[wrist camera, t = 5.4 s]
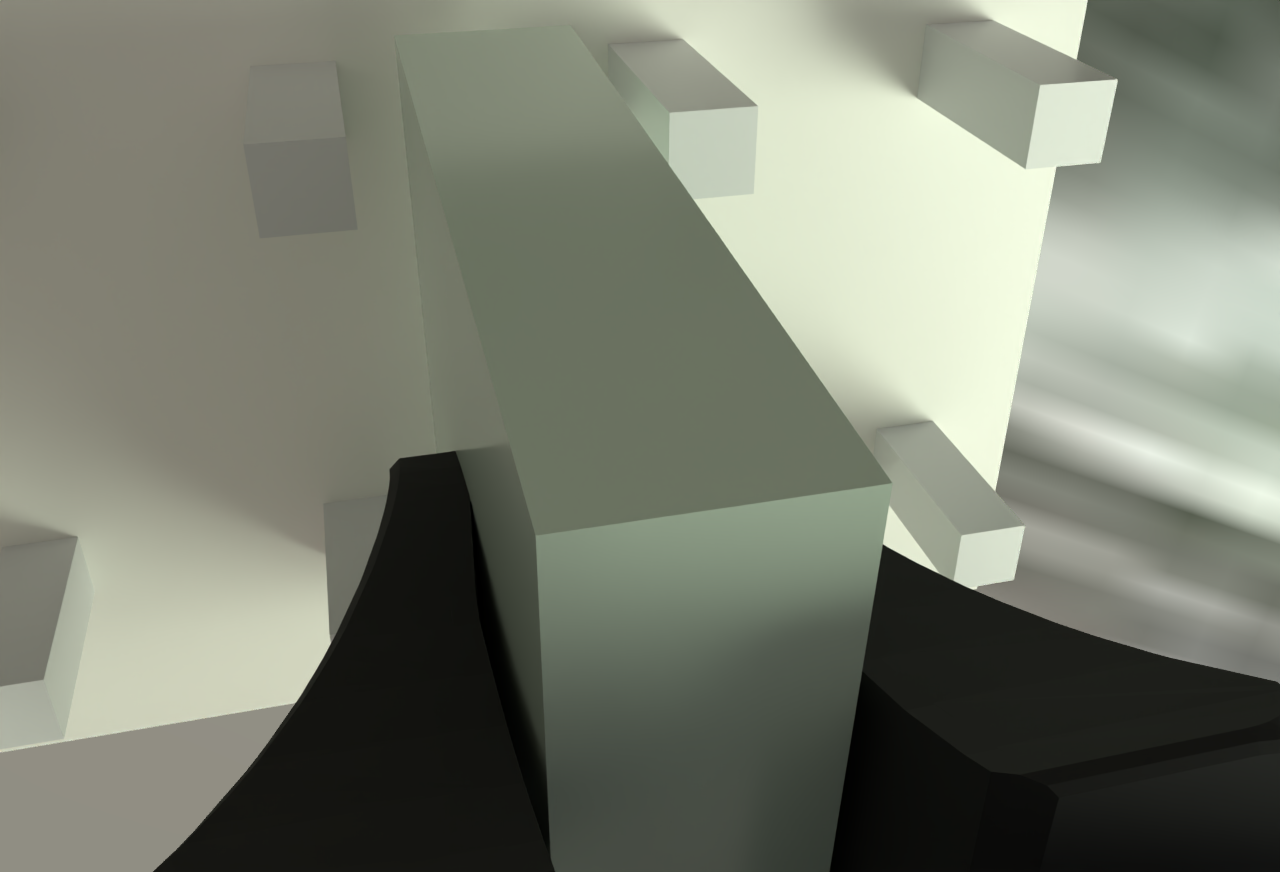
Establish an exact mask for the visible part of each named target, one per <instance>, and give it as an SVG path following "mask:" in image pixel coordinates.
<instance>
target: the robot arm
mask: <svg viewBox="0 0 1280 872" xmlns="http://www.w3.org/2000/svg"><path fill="white" fill-rule="evenodd" d="M389 471H390V481H389V489H388V495H387V500H386V505H385V509H384V513H383V517H382V520H381V524H380V527H379V531H378V534H377V537H376V540H375V542H374V545H373V548H372V551H371V554H370V556H369V559H368V562H367V565H366V568H365V570H364V573H363V576H362V578H361V581H360V583H359V585H358V588H357V590H356V592H355V594H354V596H353V598H352V601H351V603H350V605H349V607H348V609H347V611H346V614H345V616H344V618H343V620H342V622H341V624H340V627H339V629H338V631H337V633H336V635H335V637H334V639H333V641H332V642H331V644H330V646H329V648H328V650H327V652H326V654H325V655H324V657H323V659H322V661H321V662H320V664H319V666H318V668H317V669H316V671H315V673H314V674H313V676H312V678H311V679H310V681H309V683H308V684H307V686H306V688H305V689H304V691H303V692H302V694H301V696H300V697H299V699H298V700H297V702H296V703H295V705H294V706H293V708H292V709H291V711H290V712H289V713H288V715H287V716H286V718H285V719H284V721H283V722H282V724H281V725H280V727H279V728H278V729H277V731H276V732H275V734H274V735H273V736H272V738H271V739H270V741H269V742H268V744H267V745H266V746H265V748H264V749H263V750H262V752H261V753H260V754H259V755H258V757H257V758H256V759H255V761H254V762H253V763H252V765H251V766H250V767H249V768H248V770H247V771H246V772H245V773H244V775H243V776H242V777H241V778H240V779H239V780H238V782H237V783H236V784H235V785H234V786H233V787H232V788H231V790H230V791H229V792H228V793H227V794H226V795H225V796H224V797H223V799H222V800H221V801H220V802H219V803H218V804H217V806H216V807H215V808H214V809H213V810H212V811H211V813H210V814H209V815H208V816H207V817H206V818H205V819H204V821H203V822H202V823H201V824H200V825H199V826H198V827H197V829H196V830H195V831H194V832H193V833H192V834H191V835H190V836H189V837H188V838H187V839H186V840H185V841H184V843H182V844H181V845H180V847H179V848H178V849H177V850H176V851H175V852H173V853H172V854H171V855H170V856H169V857H168V858H167V859H166V860H165V861H164V862H163V863H162V864H161V865H160V866H159V867H157V869H155V870H154V871H153V872H555V869H554V867H553V864H552V861H551V858H550V856H549V853H548V850H547V848H546V845H545V842H544V840H543V837H542V834H541V831H540V828H539V825H538V822H537V819H536V816H535V813H534V810H533V807H532V804H531V801H530V798H529V795H528V792H527V789H526V786H525V783H524V780H523V777H522V773H521V770H520V767H519V763H518V760H517V757H516V753H515V750H514V747H513V743H512V740H511V737H510V733H509V730H508V726H507V723H506V719H505V716H504V712H503V708H502V705H501V701H500V697H499V694H498V690H497V686H496V683H495V679H494V675H493V671H492V667H491V664H490V660H489V656H488V652H487V648H486V644H485V640H484V636H483V632H482V628H481V619H480V607H479V596H478V585H477V574H476V563H475V551H474V540H473V529H472V518H471V506H470V496H469V492H468V488H467V485H466V482H465V478H464V475H463V472H462V468H461V465H460V462H459V460H458V457H457V454H456V451H451V452H443V453H436V454H428V455H420V456H413V457H405V458H399V459H398V460H397V461H396V463H395V464H394V465H393V466H392V467H391V468H390V469H389ZM829 872H1280V684H1279V683H1278V682H1276V681H1271V680H1267V679H1262V678H1258V677H1253V676H1249V675H1244V674H1240V673H1235V672H1231V671H1227V670H1222V669H1218V668H1213V667H1209V666H1204V665H1200V664H1195V663H1191V662H1186V661H1182V660H1177V659H1173V658H1169V657H1165V656H1161V655H1158V654H1154V653H1151V652H1147V651H1144V650H1140V649H1137V648H1134V647H1130V646H1127V645H1123V644H1120V643H1117V642H1113V641H1110V640H1106V639H1103V638H1100V637H1096V636H1093V635H1090V634H1087V633H1084V632H1081V631H1078V630H1075V629H1072V628H1069V627H1066V626H1063V625H1060V624H1058V623H1055V622H1052V621H1049V620H1047V619H1044V618H1042V617H1039V616H1036V615H1034V614H1031V613H1029V612H1026V611H1024V610H1021V609H1018V608H1016V607H1013V606H1011V605H1008V604H1005V603H1003V602H1000V601H998V600H995V599H993V598H991V597H988V596H986V595H984V594H982V593H979V592H977V591H975V590H972V589H970V588H968V587H966V586H963V585H961V584H959V583H957V582H955V581H953V580H951V579H949V578H947V577H945V576H943V575H941V574H939V573H937V572H935V571H933V570H931V569H929V568H927V567H924V566H922V565H920V564H918V563H916V562H914V561H912V560H911V559H909V558H907V557H905V556H903V555H901V554H899V553H898V552H896V551H894V550H892V549H890V548H889V547H887V546H885V545H883V546H882V552H881V558H880V564H879V570H878V577H877V583H876V589H875V595H874V601H873V607H872V613H871V620H870V626H869V632H868V638H867V644H866V650H865V656H864V663H863V669H862V675H861V681H860V687H859V693H858V699H857V706H856V712H855V718H854V724H853V730H852V736H851V742H850V749H849V755H848V761H847V767H846V773H845V779H844V785H843V791H842V798H841V804H840V810H839V816H838V822H837V828H836V834H835V841H834V847H833V853H832V859H831V865H830V871H829Z"/></svg>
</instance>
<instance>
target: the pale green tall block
mask: <svg viewBox="0 0 1280 872" xmlns="http://www.w3.org/2000/svg"><path fill="white" fill-rule="evenodd" d="M394 39H395V49H396V59H397V69H398V79H399V88H400V98H401V108H402V118H403V128H404V138H405V148H406V157H407V167H408V177H409V187H410V197H411V207H412V216H413V226H414V236H415V246H416V256H417V266H418V276H419V285H420V295H421V305H422V315H423V325H424V335H425V344H426V354H427V364H428V374H429V384H430V394H431V403H432V413H433V423H434V433H435V443H436V453H443V452H451V451H456V454H457V457H458V460H459V462H460V465H461V468H462V472H463V475H464V478H465V482H466V485H467V488H468V492H469V496H470V506H471V518H472V529H473V540H474V551H475V563H476V574H477V585H478V596H479V607H480V619H481V628H482V632H483V636H484V640H485V644H486V648H487V652H488V656H489V660H490V664H491V667H492V671H493V675H494V679H495V683H496V686H497V690H498V694H499V697H500V701H501V705H502V708H503V712H504V716H505V719H506V723H507V726H508V730H509V733H510V737H511V740H512V743H513V747H514V750H515V753H516V757H517V760H518V763H519V767H520V770H521V773H522V777H523V780H524V783H525V786H526V789H527V792H528V795H529V798H530V801H531V804H532V807H533V810H534V813H535V816H536V819H537V822H538V825H539V828H540V831H541V834H542V837H543V840H544V842H545V845H546V848H547V850H548V853H549V856H550V858H551V861H552V864H553V867H554V869H555V872H829V871H830V865H831V859H832V853H833V847H834V841H835V834H836V828H837V822H838V816H839V810H840V804H841V798H842V791H843V785H844V779H845V773H846V767H847V761H848V755H849V749H850V742H851V736H852V730H853V724H854V718H855V712H856V706H857V699H858V693H859V687H860V681H861V675H862V669H863V663H864V656H865V650H866V644H867V638H868V632H869V626H870V620H871V613H872V607H873V601H874V595H875V589H876V583H877V577H878V570H879V564H880V558H881V552H882V546H883V540H884V534H885V527H886V521H887V515H888V509H889V503H890V497H891V491H892V484H893V483H892V482H891V480H890V479H889V477H888V476H887V474H886V473H885V472H884V470H883V469H882V467H881V466H880V464H879V463H878V462H877V460H876V459H875V457H874V456H873V455H872V453H871V452H870V450H869V449H868V447H867V446H866V445H865V443H864V442H863V440H862V439H861V437H860V436H859V435H858V433H857V432H856V430H855V429H854V427H853V426H852V425H851V423H850V422H849V420H848V419H847V418H846V416H845V415H844V413H843V412H842V410H841V409H840V408H839V406H838V405H837V403H836V402H835V400H834V399H833V398H832V396H831V395H830V393H829V392H828V390H827V389H826V388H825V386H824V385H823V383H822V382H821V381H820V379H819V378H818V376H817V375H816V373H815V372H814V371H813V369H812V368H811V366H810V365H809V363H808V362H807V361H806V359H805V358H804V356H803V355H802V353H801V352H800V351H799V349H798V348H797V346H796V345H795V343H794V342H793V341H792V339H791V338H790V336H789V335H788V334H787V332H786V331H785V329H784V328H783V326H782V325H781V324H780V322H779V321H778V319H777V318H776V316H775V315H774V314H773V312H772V311H771V309H770V308H769V306H768V305H767V304H766V302H765V301H764V299H763V298H762V297H761V295H760V294H759V292H758V291H757V289H756V288H755V287H754V285H753V284H752V282H751V281H750V279H749V278H748V277H747V275H746V274H745V272H744V271H743V269H742V268H741V267H740V265H739V264H738V262H737V261H736V260H735V258H734V257H733V255H732V254H731V252H730V251H729V250H728V248H727V247H726V245H725V244H724V242H723V241H722V240H721V238H720V237H719V235H718V234H717V232H716V231H715V230H714V228H713V227H712V225H711V224H710V223H709V221H708V220H707V218H706V217H705V215H704V214H703V213H702V211H701V210H700V208H699V207H698V205H697V204H696V203H695V201H694V200H693V198H692V197H691V195H690V194H689V193H688V191H687V190H686V188H685V187H684V186H683V184H682V183H681V181H680V180H679V178H678V177H677V176H676V174H675V173H674V171H673V170H672V168H671V167H670V166H669V164H668V163H667V161H666V160H665V158H664V157H663V156H662V154H661V153H660V151H659V150H658V148H657V147H656V146H655V144H654V143H653V141H652V140H651V139H650V137H649V136H648V134H647V133H646V131H645V130H644V129H643V127H642V126H641V124H640V123H639V121H638V120H637V119H636V117H635V116H634V114H633V113H632V111H631V110H630V109H629V107H628V106H627V104H626V103H625V102H624V100H623V99H622V97H621V96H620V94H619V93H618V92H617V90H616V89H615V87H614V86H613V84H612V83H611V82H610V80H609V79H608V77H607V76H606V74H605V73H604V72H603V70H602V69H601V67H600V66H599V65H598V63H597V62H596V60H595V59H594V57H593V56H592V55H591V53H590V52H589V50H588V49H587V47H586V46H585V45H584V43H583V42H582V40H581V39H580V37H579V36H578V35H577V33H576V32H575V30H574V29H573V28H572V26H571V25H563V26H546V27H529V28H512V29H495V30H478V31H461V32H444V33H427V34H410V35H394Z"/></svg>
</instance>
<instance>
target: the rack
mask: <svg viewBox="0 0 1280 872" xmlns="http://www.w3.org/2000/svg"><path fill="white" fill-rule="evenodd" d="M1087 1H1088V0H0V752H6V751H12V750H18V749H24V748H30V747H36V746H41V745H48V744H54V743H59V742H66V741H72V740H78V739H84V738H89V737H96V736H101V735H108V734H114V733H119V732H125V731H132V730H138V729H144V728H149V727H156V726H161V725H167V724H173V723H179V722H185V721H191V720H196V719H203V718H209V717H215V716H221V715H226V714H233V713H239V712H245V711H251V710H257V709H263V708H268V707H275V706H281V705H287V704H293V703H296V702H297V700H298V699H299V697H300V696H301V694H302V692H303V691H304V689H305V688H306V686H307V684H308V683H309V681H310V679H311V678H312V676H313V674H314V673H315V671H316V669H317V668H318V666H319V664H320V662H321V661H322V659H323V657H324V655H325V654H326V652H327V650H328V648H329V646H330V644H331V642H332V641H333V639H334V637H335V635H336V633H337V631H338V629H339V627H340V624H341V622H342V620H343V618H344V616H345V614H346V611H347V609H348V607H349V605H350V603H351V601H352V598H353V596H354V594H355V592H356V590H357V588H358V585H359V583H360V581H361V578H362V576H363V573H364V570H365V568H366V565H367V562H368V559H369V556H370V554H371V551H372V548H373V545H374V542H375V540H376V537H377V534H378V531H379V527H380V524H381V520H382V517H383V513H384V509H385V505H386V500H387V495H388V489H389V481H390V471H389V469H390V468H391V467H392V466H393V465H394V464H395V463H396V461H397V460H398V459H399V458H405V457H413V456H420V455H428V454H436V443H435V433H434V423H433V413H432V403H431V394H430V384H429V374H428V364H427V354H426V344H425V335H424V325H423V315H422V305H421V295H420V285H419V276H418V266H417V256H416V246H415V236H414V226H413V216H412V207H411V197H410V187H409V177H408V167H407V157H406V148H405V138H404V128H403V118H402V108H401V98H400V88H399V79H398V69H397V59H396V49H395V39H394V35H410V34H427V33H444V32H461V31H478V30H495V29H512V28H529V27H546V26H563V25H571V26H572V28H573V29H574V30H575V32H576V33H577V35H578V36H579V37H580V39H581V40H582V42H583V43H584V45H585V46H586V47H587V49H588V50H589V52H590V53H591V55H592V56H593V57H594V59H595V60H596V62H597V63H598V65H599V66H600V67H601V69H602V70H603V72H604V73H605V74H606V76H607V77H608V79H609V80H610V82H611V83H612V84H613V86H614V87H615V89H616V90H617V92H618V93H619V94H620V96H621V97H622V99H623V100H624V102H625V103H626V104H627V106H628V107H629V109H630V110H631V111H632V113H633V114H634V116H635V117H636V119H637V120H638V121H639V123H640V124H641V126H642V127H643V129H644V130H645V131H646V133H647V134H648V136H649V137H650V139H651V140H652V141H653V143H654V144H655V146H656V147H657V148H658V150H659V151H660V153H661V154H662V156H663V157H664V158H665V160H666V161H667V163H668V164H669V166H670V167H671V168H672V170H673V171H674V173H675V174H676V176H677V177H678V178H679V180H680V181H681V183H682V184H683V186H684V187H685V188H686V190H687V191H688V193H689V194H690V195H691V197H692V198H693V200H694V201H695V203H696V204H697V205H698V207H699V208H700V210H701V211H702V213H703V214H704V215H705V217H706V218H707V220H708V221H709V223H710V224H711V225H712V227H713V228H714V230H715V231H716V232H717V234H718V235H719V237H720V238H721V240H722V241H723V242H724V244H725V245H726V247H727V248H728V250H729V251H730V252H731V254H732V255H733V257H734V258H735V260H736V261H737V262H738V264H739V265H740V267H741V268H742V269H743V271H744V272H745V274H746V275H747V277H748V278H749V279H750V281H751V282H752V284H753V285H754V287H755V288H756V289H757V291H758V292H759V294H760V295H761V297H762V298H763V299H764V301H765V302H766V304H767V305H768V306H769V308H770V309H771V311H772V312H773V314H774V315H775V316H776V318H777V319H778V321H779V322H780V324H781V325H782V326H783V328H784V329H785V331H786V332H787V334H788V335H789V336H790V338H791V339H792V341H793V342H794V343H795V345H796V346H797V348H798V349H799V351H800V352H801V353H802V355H803V356H804V358H805V359H806V361H807V362H808V363H809V365H810V366H811V368H812V369H813V371H814V372H815V373H816V375H817V376H818V378H819V379H820V381H821V382H822V383H823V385H824V386H825V388H826V389H827V390H828V392H829V393H830V395H831V396H832V398H833V399H834V400H835V402H836V403H837V405H838V406H839V408H840V409H841V410H842V412H843V413H844V415H845V416H846V418H847V419H848V420H849V422H850V423H851V425H852V426H853V427H854V429H855V430H856V432H857V433H858V435H859V436H860V437H861V439H862V440H863V442H864V443H865V445H866V446H867V447H868V449H869V450H870V452H871V453H872V455H873V456H874V457H875V459H876V460H877V462H878V463H879V464H880V466H881V467H882V469H883V470H884V472H885V473H886V474H887V476H888V477H889V479H890V480H891V482H892V483H893V484H892V491H891V497H890V503H889V509H888V515H887V521H886V527H885V534H884V540H883V545H885V546H887V547H889V548H890V549H892V550H894V551H896V552H898V553H899V554H901V555H903V556H905V557H907V558H909V559H911V560H912V561H914V562H916V563H918V564H920V565H922V566H924V567H927V568H929V569H931V570H933V571H935V572H937V573H939V574H941V575H943V576H945V577H947V578H949V579H951V580H953V581H955V582H957V583H959V584H961V585H963V586H966V587H968V588H970V589H972V590H973V589H977V586H981V585H987V584H993V583H999V582H1005V581H1011V580H1014V576H1015V572H1016V567H1017V562H1018V557H1019V552H1020V547H1021V543H1022V538H1023V533H1024V528H1025V525H1024V524H1023V523H1022V521H1021V520H1020V519H1019V518H1018V517H1017V516H1016V515H1015V513H1014V512H1013V511H1012V510H1011V509H1010V508H1009V507H1008V506H1007V504H1006V503H1005V502H1004V501H1003V500H1002V499H1001V498H1000V496H999V495H998V494H997V493H996V492H995V489H996V484H997V479H998V473H999V468H1000V463H1001V458H1002V452H1003V447H1004V442H1005V436H1006V431H1007V426H1008V420H1009V415H1010V410H1011V404H1012V399H1013V394H1014V389H1015V383H1016V378H1017V373H1018V367H1019V362H1020V357H1021V351H1022V346H1023V341H1024V335H1025V330H1026V325H1027V320H1028V314H1029V309H1030V304H1031V298H1032V293H1033V288H1034V282H1035V277H1036V272H1037V266H1038V261H1039V256H1040V251H1041V245H1042V240H1043V235H1044V229H1045V224H1046V219H1047V213H1048V208H1049V203H1050V197H1051V192H1052V187H1053V181H1054V176H1055V171H1056V167H1057V166H1068V165H1079V164H1091V163H1101V158H1102V153H1103V148H1104V143H1105V139H1106V134H1107V129H1108V124H1109V119H1110V115H1111V110H1112V105H1113V100H1114V95H1115V90H1116V86H1117V81H1118V79H1116V78H1114V77H1112V76H1110V75H1108V74H1106V73H1103V72H1101V71H1099V70H1097V69H1095V68H1093V67H1091V66H1089V65H1087V64H1085V63H1082V62H1080V61H1078V60H1076V59H1077V54H1078V49H1079V43H1080V38H1081V33H1082V28H1083V22H1084V17H1085V12H1086V6H1087Z"/></svg>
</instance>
